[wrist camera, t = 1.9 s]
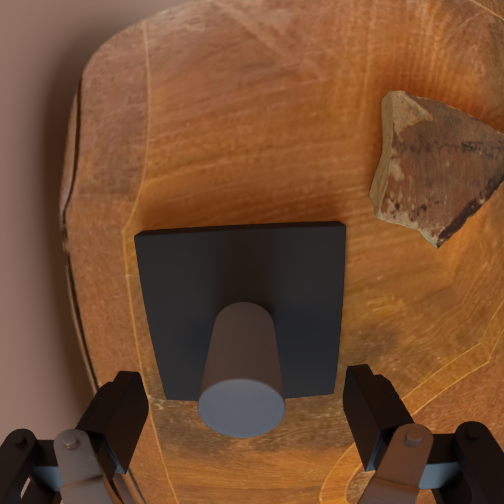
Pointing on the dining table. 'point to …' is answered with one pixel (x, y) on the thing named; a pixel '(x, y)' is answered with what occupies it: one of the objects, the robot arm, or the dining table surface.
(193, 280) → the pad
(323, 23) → the dining table surface
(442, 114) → the shard
